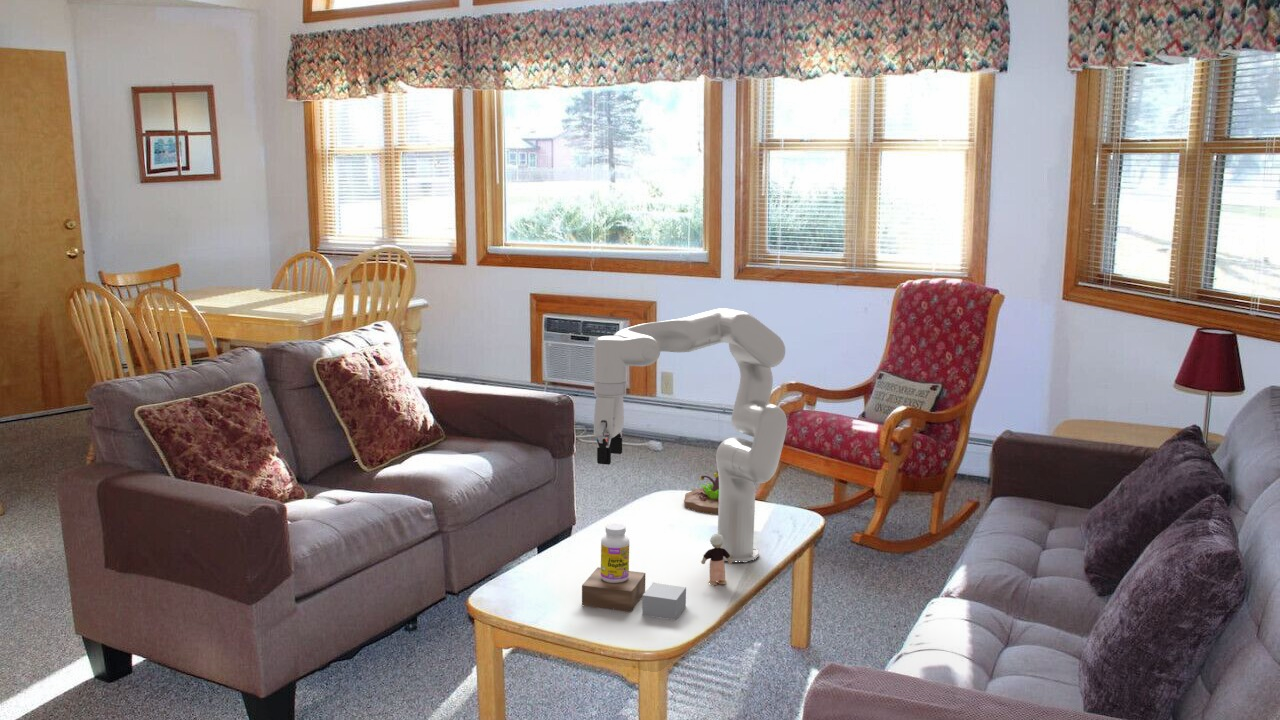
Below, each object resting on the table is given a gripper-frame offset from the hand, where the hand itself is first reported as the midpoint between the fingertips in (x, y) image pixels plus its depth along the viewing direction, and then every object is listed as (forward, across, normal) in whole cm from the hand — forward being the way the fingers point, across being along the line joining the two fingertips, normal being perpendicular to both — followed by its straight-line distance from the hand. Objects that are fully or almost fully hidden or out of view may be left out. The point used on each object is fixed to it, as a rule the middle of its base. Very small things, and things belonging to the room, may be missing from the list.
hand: (609, 458), depth 254 cm
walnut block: (+32, +8, +4) cm, 33 cm away
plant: (+33, -72, +13) cm, 81 cm away
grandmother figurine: (+32, -9, +25) cm, 42 cm away
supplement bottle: (+27, +8, +4) cm, 28 cm away
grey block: (+32, +11, +16) cm, 38 cm away
